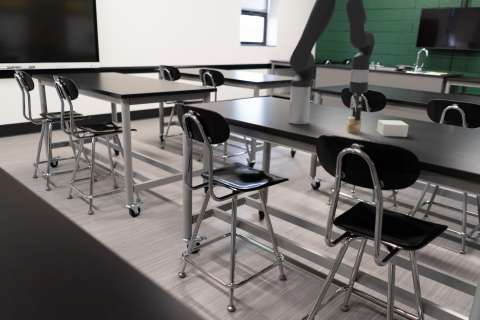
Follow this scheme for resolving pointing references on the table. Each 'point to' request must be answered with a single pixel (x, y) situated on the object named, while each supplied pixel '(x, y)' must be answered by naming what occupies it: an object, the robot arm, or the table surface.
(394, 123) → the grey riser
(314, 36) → the robot arm
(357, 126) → the beech block
